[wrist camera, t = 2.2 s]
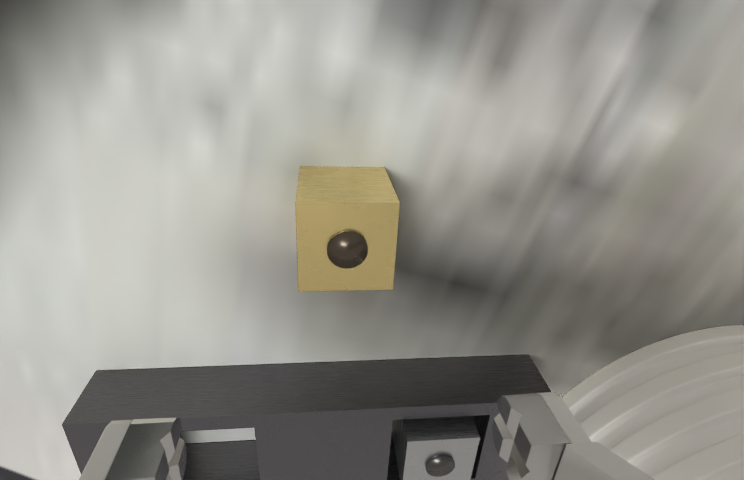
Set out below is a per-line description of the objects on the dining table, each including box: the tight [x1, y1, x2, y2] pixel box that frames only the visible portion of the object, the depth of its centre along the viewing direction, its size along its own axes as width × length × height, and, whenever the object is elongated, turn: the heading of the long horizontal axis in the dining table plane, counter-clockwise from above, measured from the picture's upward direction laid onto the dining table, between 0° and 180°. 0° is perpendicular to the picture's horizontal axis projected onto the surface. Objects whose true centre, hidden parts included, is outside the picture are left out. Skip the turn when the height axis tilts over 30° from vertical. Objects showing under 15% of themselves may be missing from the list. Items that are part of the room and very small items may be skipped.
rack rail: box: [62, 355, 551, 480], centre depth 29 cm, size 28×8×4 cm, turn 87°
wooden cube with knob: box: [295, 166, 400, 291], centre depth 22 cm, size 4×4×5 cm
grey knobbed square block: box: [392, 416, 480, 480], centre depth 29 cm, size 4×4×5 cm
